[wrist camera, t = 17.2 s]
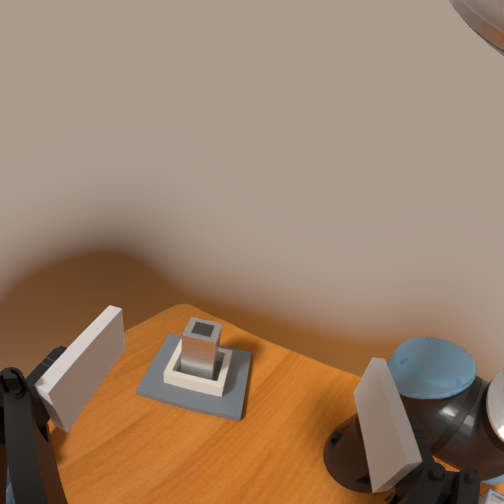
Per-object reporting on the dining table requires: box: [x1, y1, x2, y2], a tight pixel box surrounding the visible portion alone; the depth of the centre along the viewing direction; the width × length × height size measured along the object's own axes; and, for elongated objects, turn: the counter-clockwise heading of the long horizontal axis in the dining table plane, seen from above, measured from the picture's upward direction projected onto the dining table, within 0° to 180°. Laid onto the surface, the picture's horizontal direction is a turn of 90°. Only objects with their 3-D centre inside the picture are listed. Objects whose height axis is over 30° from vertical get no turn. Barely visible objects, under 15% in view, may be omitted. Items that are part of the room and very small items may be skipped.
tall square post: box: [181, 317, 222, 380], centre depth 47 cm, size 6×6×10 cm
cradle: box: [136, 333, 252, 421], centre depth 49 cm, size 18×18×4 cm
